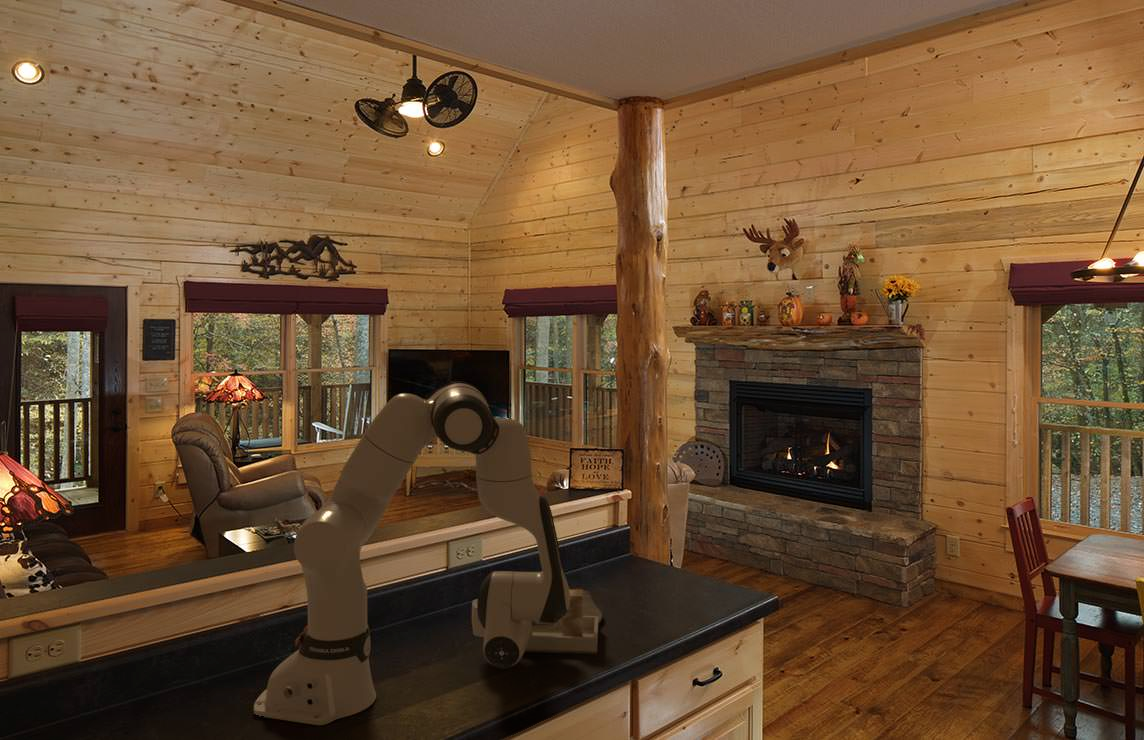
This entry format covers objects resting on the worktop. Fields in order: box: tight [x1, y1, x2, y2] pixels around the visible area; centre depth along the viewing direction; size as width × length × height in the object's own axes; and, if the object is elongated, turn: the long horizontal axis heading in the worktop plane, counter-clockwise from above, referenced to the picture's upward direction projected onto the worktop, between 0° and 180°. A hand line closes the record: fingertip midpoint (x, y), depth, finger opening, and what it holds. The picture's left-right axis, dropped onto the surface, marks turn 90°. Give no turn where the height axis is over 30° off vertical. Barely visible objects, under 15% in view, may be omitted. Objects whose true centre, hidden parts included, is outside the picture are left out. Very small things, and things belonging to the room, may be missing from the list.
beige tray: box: [524, 616, 599, 655], centre depth 177 cm, size 24×14×4 cm, turn 87°
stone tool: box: [572, 588, 603, 624], centre depth 194 cm, size 20×3×25 cm
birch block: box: [563, 588, 584, 637], centre depth 176 cm, size 4×4×11 cm
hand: (520, 600), depth 176 cm, fingers open, 8 cm apart
